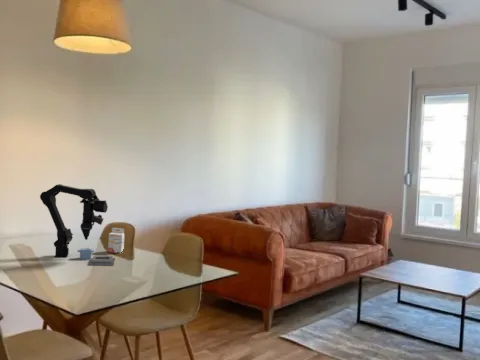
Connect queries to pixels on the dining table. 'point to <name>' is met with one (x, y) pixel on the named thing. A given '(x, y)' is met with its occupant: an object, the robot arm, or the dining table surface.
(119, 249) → the ink cartridge box
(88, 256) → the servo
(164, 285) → the dining table surface
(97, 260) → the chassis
